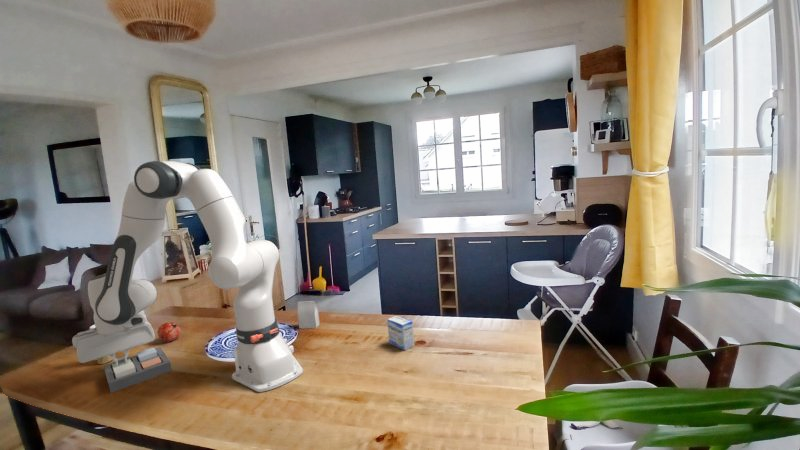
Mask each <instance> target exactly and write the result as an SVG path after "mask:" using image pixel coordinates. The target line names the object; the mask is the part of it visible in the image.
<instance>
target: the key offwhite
mask: <svg viewBox="0 0 800 450" xmlns="http://www.w3.org/2000/svg"><path fill="white" fill-rule="evenodd" d="M113 369H114V373H115V377H116V379H118V378H120V377H123V376H126V375H129V374H132V373H135V372H136V369H135V366H134V364H133V362H131V363H128V364H125V365H122V366H119V367H116V368H113Z"/></svg>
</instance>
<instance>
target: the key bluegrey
mask: <svg viewBox="0 0 800 450" xmlns="http://www.w3.org/2000/svg"><path fill="white" fill-rule="evenodd" d="M155 349H156V348H155V347H151V348H148V349H147V348H146V349H144V350H141V351H139V352H136V355H137V357H138V360H139V362H141V361H144V360H147V359H150V358H153V357H156V356H158V355H157V351H156V350H155Z"/></svg>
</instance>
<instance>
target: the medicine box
mask: <svg viewBox="0 0 800 450" xmlns="http://www.w3.org/2000/svg"><path fill="white" fill-rule="evenodd" d="M386 320H387V331H388V342H389V344H390V345H392V346H393V347H396V348H398V349H401V350H403V351H407V350H409V349H411V348H412V347H414V346H415V336H414V335H415V333H414V322H413V321H412V320H410V319H407V318H404V317H401V316H398V315H394V316H392V317H390V318H388V319H386Z"/></svg>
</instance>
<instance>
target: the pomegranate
mask: <svg viewBox="0 0 800 450" xmlns="http://www.w3.org/2000/svg"><path fill="white" fill-rule="evenodd" d="M180 335H181V328H180V326H179V325H178V324H177V323H176V322H173V321H172V322H165V323H162V324H161V325H160V326H159V328H158V330H157V337H158V338H159V339H161V340H162V341H163V342H164V343H171V342H173V341H174V340H176V339H178V338H179V337H180Z"/></svg>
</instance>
